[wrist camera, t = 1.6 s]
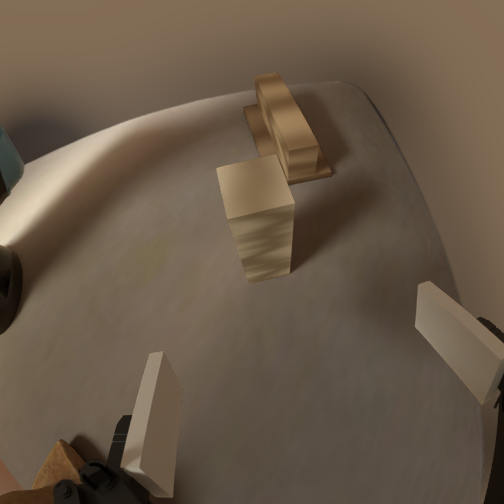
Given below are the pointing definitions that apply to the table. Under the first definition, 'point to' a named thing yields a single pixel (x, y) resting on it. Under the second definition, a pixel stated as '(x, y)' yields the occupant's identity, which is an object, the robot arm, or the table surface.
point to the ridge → (284, 131)
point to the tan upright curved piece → (49, 476)
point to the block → (259, 215)
